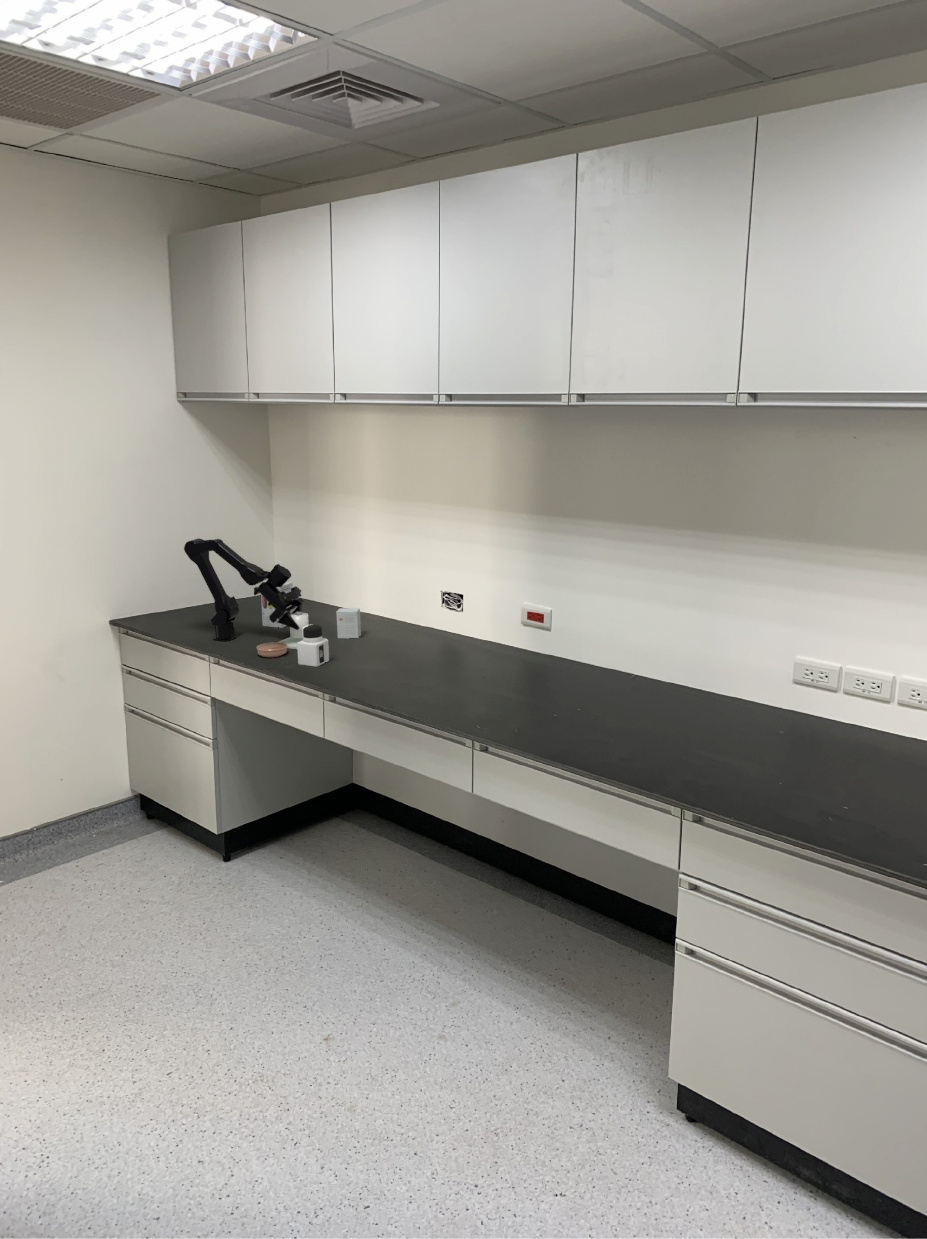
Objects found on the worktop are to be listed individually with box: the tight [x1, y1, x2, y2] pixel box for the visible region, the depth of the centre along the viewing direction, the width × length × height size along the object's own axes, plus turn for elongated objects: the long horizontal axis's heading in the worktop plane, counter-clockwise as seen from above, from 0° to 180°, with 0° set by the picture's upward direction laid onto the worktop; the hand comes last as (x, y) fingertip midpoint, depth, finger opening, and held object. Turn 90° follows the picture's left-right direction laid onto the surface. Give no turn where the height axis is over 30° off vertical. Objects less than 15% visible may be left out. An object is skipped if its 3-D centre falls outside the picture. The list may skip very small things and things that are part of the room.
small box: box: [335, 607, 362, 639], centre depth 331 cm, size 8×6×10 cm
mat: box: [278, 636, 327, 650], centre depth 324 cm, size 14×14×1 cm
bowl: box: [256, 641, 288, 658], centre depth 310 cm, size 11×11×3 cm
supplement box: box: [260, 581, 294, 629], centre depth 350 cm, size 10×9×17 cm
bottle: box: [289, 611, 310, 638], centre depth 322 cm, size 7×7×9 cm
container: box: [296, 623, 330, 668], centre depth 298 cm, size 8×8×13 cm
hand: (302, 626), depth 322 cm, fingers closed on bottle, 7 cm apart
